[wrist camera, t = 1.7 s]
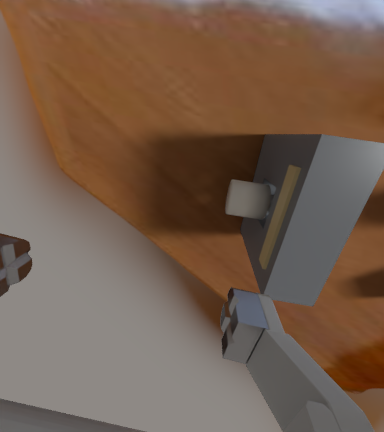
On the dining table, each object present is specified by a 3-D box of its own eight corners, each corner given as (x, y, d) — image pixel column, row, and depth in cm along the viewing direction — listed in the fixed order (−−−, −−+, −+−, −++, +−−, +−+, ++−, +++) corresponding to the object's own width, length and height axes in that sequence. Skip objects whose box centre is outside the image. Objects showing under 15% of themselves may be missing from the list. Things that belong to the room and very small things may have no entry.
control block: (238, 229, 40) (258, 297, 23) (262, 134, 33) (317, 133, 16) (269, 234, 40) (313, 306, 23) (301, 139, 33) (395, 145, 16)
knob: (224, 207, 31) (226, 219, 27) (230, 176, 29) (234, 183, 25) (293, 217, 31) (307, 232, 26) (304, 187, 29) (322, 197, 25)
